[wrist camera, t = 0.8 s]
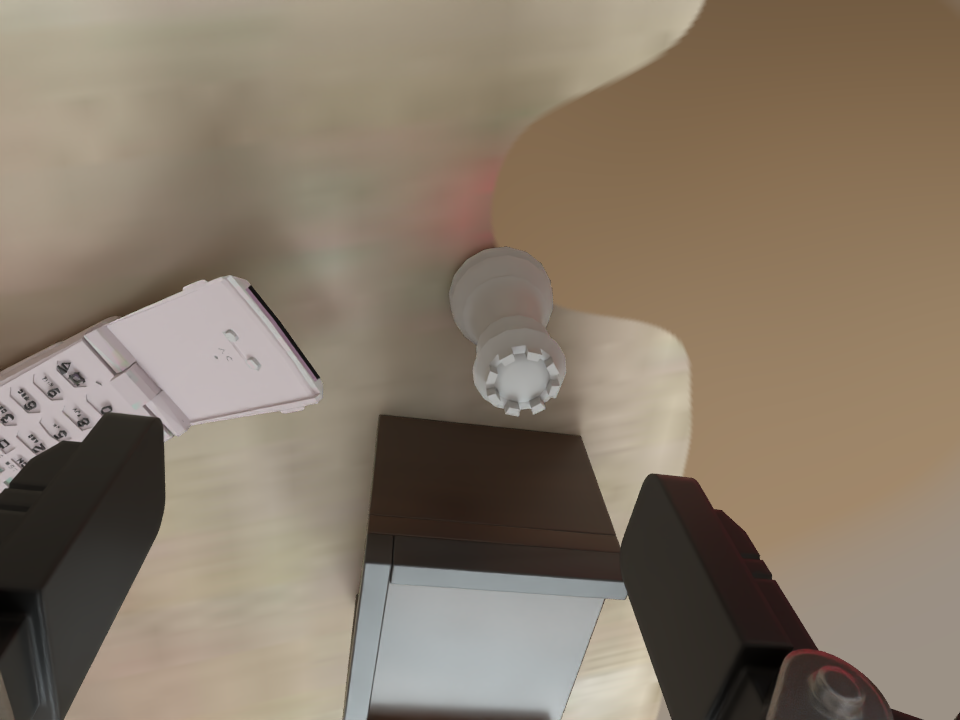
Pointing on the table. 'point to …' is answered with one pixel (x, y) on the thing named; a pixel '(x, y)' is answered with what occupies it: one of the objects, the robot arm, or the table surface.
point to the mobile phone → (157, 371)
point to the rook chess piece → (509, 328)
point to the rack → (477, 574)
